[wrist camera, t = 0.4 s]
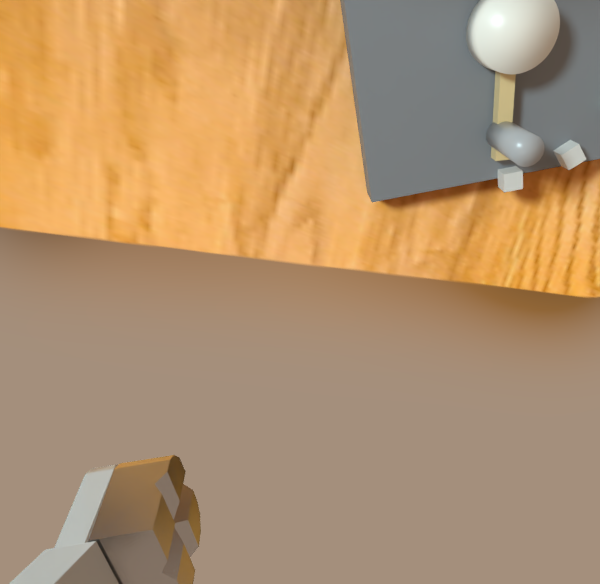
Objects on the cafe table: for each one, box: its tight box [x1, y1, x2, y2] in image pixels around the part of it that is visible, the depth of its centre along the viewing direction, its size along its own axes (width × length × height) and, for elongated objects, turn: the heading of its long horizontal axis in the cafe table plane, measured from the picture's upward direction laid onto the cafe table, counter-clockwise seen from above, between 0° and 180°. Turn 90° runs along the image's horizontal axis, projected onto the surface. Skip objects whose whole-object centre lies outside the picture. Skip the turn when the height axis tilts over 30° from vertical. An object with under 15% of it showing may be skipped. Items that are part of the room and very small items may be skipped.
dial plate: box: [340, 0, 600, 202], centre depth 45 cm, size 25×24×5 cm
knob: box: [466, 0, 560, 167], centre depth 43 cm, size 13×6×6 cm, turn 6°
